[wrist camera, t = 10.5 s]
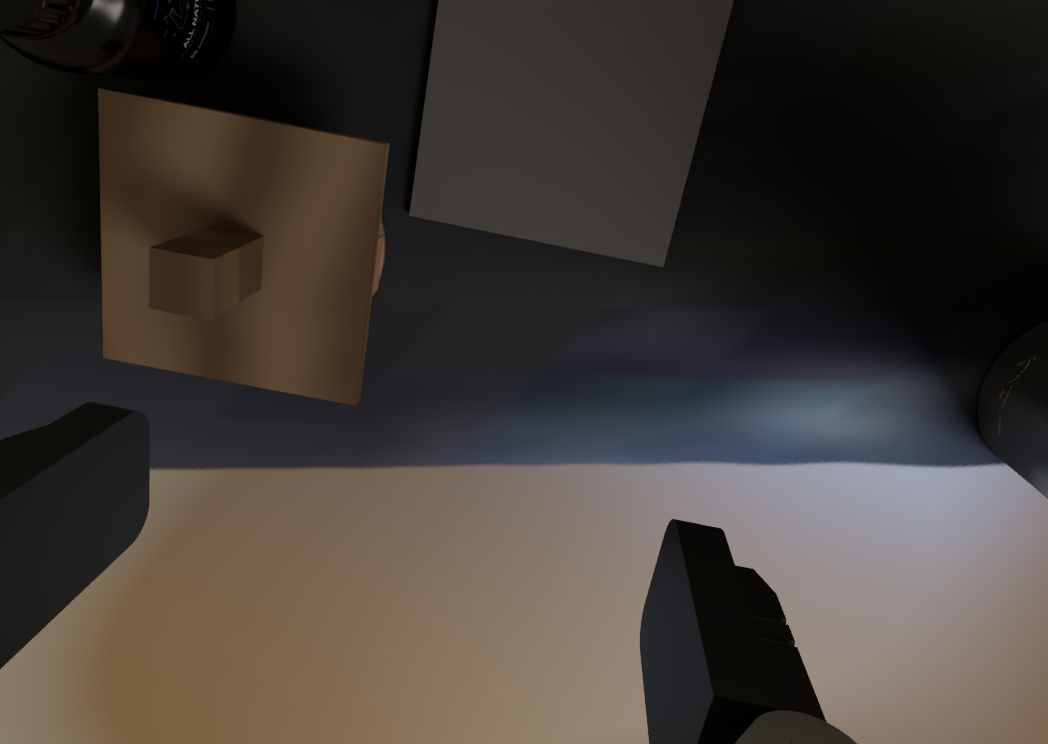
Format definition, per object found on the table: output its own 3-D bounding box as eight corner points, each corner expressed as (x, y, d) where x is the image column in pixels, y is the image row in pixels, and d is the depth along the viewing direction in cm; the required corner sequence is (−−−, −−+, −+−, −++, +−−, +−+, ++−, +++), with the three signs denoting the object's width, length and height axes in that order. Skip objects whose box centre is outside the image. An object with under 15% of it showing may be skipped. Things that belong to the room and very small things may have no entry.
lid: (389, 143, 31) (352, 152, 26) (360, 399, 35) (323, 453, 30) (109, 88, 31) (13, 86, 26) (113, 352, 35) (31, 398, 30)
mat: (736, -17, 33) (738, -18, 32) (661, 265, 38) (663, 267, 37) (450, -77, 33) (449, -79, 32) (411, 214, 37) (409, 215, 37)
